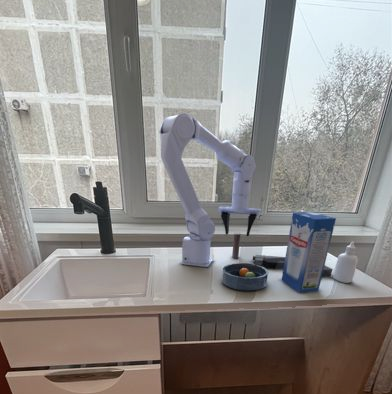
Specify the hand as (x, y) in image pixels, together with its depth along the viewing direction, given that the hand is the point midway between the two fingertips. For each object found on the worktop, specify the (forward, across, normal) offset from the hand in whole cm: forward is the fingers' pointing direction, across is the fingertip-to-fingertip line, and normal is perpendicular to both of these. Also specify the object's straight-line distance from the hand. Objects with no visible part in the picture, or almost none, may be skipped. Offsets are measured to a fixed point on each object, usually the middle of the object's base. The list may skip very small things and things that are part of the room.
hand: (237, 234), depth 105 cm
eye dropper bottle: (+9, -36, +12) cm, 39 cm away
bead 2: (+6, -8, +24) cm, 27 cm away
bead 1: (+6, -6, +22) cm, 23 cm away
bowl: (+8, -7, +25) cm, 27 cm away
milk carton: (+9, -23, +21) cm, 32 cm away
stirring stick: (+9, 0, 0) cm, 9 cm away
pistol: (+9, -20, +6) cm, 23 cm away
